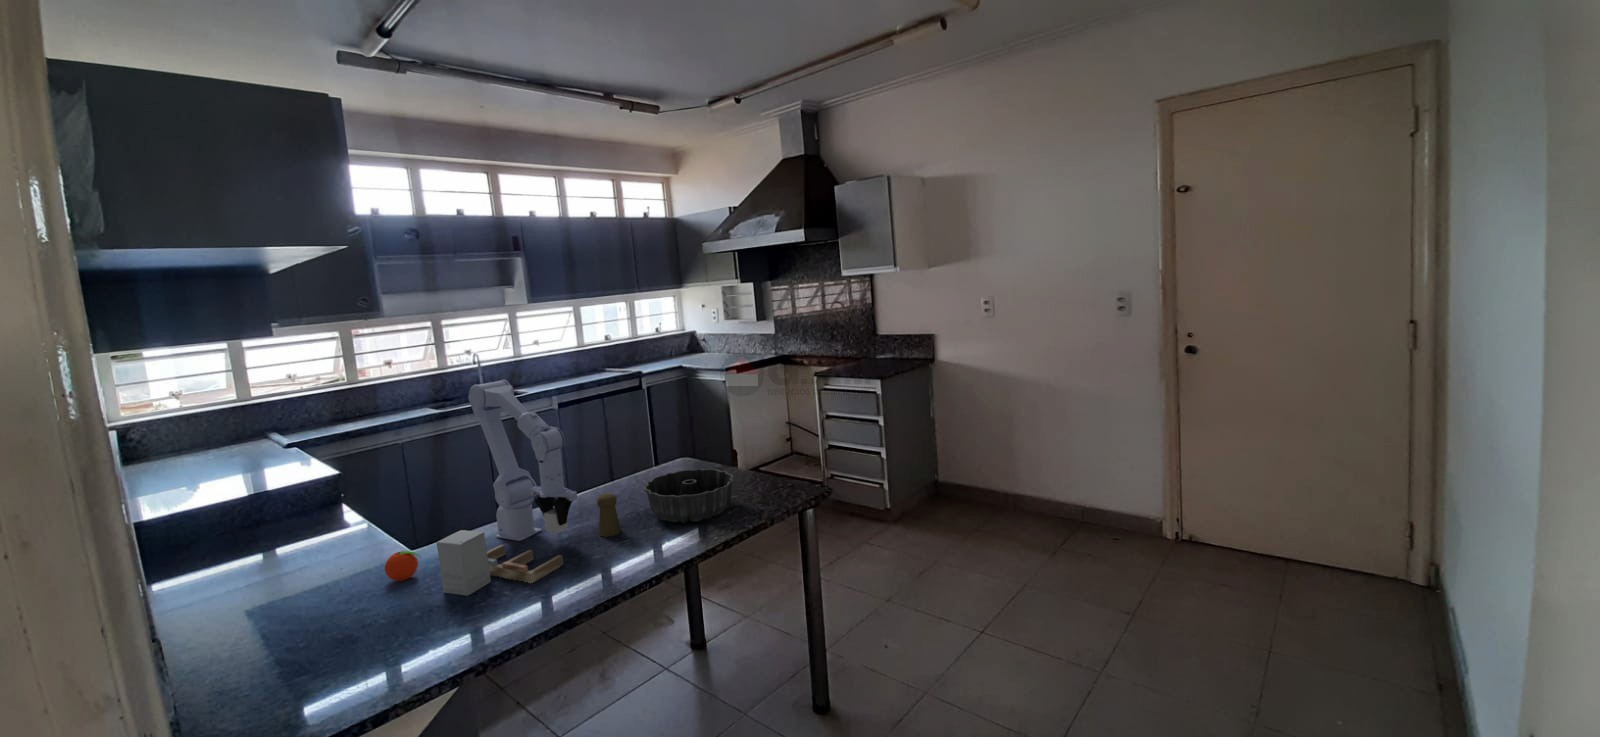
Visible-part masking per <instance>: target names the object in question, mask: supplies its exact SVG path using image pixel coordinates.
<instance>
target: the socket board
mask: <svg viewBox="0 0 1600 737" xmlns="http://www.w3.org/2000/svg"><path fill="white" fill-rule="evenodd" d="M505 549H506V548H505V545H504V544H499V545H498V546H495V547H494V548H491V549H489V550H487V557H488V564H489V572H490V576H492V577H497V576H499V577H498V578H502V577H503V579H507V580H511V579H513V581H516V580H518V582H521V581H524V582H523V583H526V582H528V583H527V584H531V583H532V584H534V583H535V582H537V581H538V580H540V578H541V579H542V578H543V577H545V576H548V575H549V574H551V573H552V571H553V570H554V571H556V570H558V569H559V568H561V567H562V566H561V565H563V566H564V558H563V555H560V554H557V555H556V556H555V557H552V558H551V559H549V560H547V561H546V562H544V563H542V564H540V565H538V566H537V567H535V568H533V569H531V570H529V567H528V565H527V564H528V563H530V562H532V561H533V559H534V558H535V557H534V551H533V550H532V549H527V550H526V551H525V552H522V553H520V554H518V555H517V556H515V557H512V558H510V559H509V560H507V561H504V562H502V563H501V564H499V563H498V559H499V558H501V557H503V556H505V555H506V550H505ZM531 560H532V561H531ZM529 561H530V562H529ZM527 562H528V563H527ZM524 564H525V565H524ZM560 566H561V567H560ZM558 567H559V568H558ZM557 568H558V569H557ZM555 569H556V570H555ZM554 571H553V572H554ZM550 572H551V573H550ZM508 578H509V579H508ZM533 582H534V583H533Z"/></svg>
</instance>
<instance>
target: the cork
mask: <svg viewBox="0 0 1600 737" xmlns="http://www.w3.org/2000/svg"><path fill="white" fill-rule="evenodd" d="M596 503H597V506H598V508H599V518H598V521H599V522H598V536H599V535H600V537H601V536H603V537H602V538H611V537H615V536H617V535H619V534H621V531H622V530H621V525H620V522H619V517H618V512H617V508H616V504H617V497H616V495H615V494H614V493H605V494H601V495H599V496H598V497H597V499H596ZM614 535H615V536H614ZM608 536H609V537H608ZM610 536H611V537H610Z"/></svg>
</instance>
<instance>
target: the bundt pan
mask: <svg viewBox="0 0 1600 737" xmlns="http://www.w3.org/2000/svg"><path fill="white" fill-rule="evenodd" d="M733 483H734V475H733V474H732V473H728V472H727V471H726V470H720V469H716V468H706V469H705V468H695V469H683V470H681V469H680V470H677V471H673V472H666V473H665V474H663V475H658V476H655V477H653V478H652V479H650V481H647V482H645V486H644V487H643V489H644V492H646V496H647V499H648V503H649V507H650V509H651V511H652V513H653V514H655V516H656V517H657V518H658V519H659V520H661V521H668V522H670V523H678V522H681V523H682V524H686V523H687V522H688V521H690V522H691V523H694V522H701V521H702V520H703V519H704V520H710V519H711V518H712V517H714V516H718V515H720V514H721V513H722V512H723V511H725V510H726V509H727V508H728V507H729V506H730V504H731V501H732V493H733V492H732V491H733Z"/></svg>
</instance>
